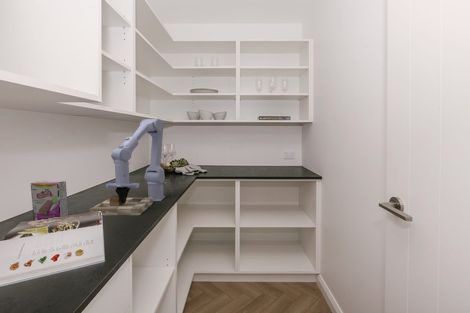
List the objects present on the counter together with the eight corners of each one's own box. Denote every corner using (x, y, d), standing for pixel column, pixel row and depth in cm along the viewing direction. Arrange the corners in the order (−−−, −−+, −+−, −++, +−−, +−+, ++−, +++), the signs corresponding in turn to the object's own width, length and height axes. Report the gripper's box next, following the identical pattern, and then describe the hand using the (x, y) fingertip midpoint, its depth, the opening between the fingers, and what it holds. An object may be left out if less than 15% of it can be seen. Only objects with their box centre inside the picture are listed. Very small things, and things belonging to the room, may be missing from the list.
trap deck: (110, 203, 121) (110, 197, 120) (153, 203, 121) (152, 197, 121) (89, 215, 103) (89, 209, 102) (140, 215, 103) (139, 208, 103)
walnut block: (114, 203, 110) (113, 195, 110) (122, 203, 110) (122, 195, 110) (109, 206, 106) (109, 197, 106) (118, 206, 106) (118, 197, 106)
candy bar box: (32, 222, 95) (29, 183, 93) (42, 218, 100) (39, 180, 98) (60, 222, 95) (57, 182, 94) (69, 217, 100) (66, 180, 99)
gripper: (101, 175, 103) (103, 205, 104) (134, 175, 103) (135, 205, 104) (109, 173, 110) (111, 201, 111) (140, 173, 110) (141, 201, 111)
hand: (123, 203), depth 108 cm, fingers closed
